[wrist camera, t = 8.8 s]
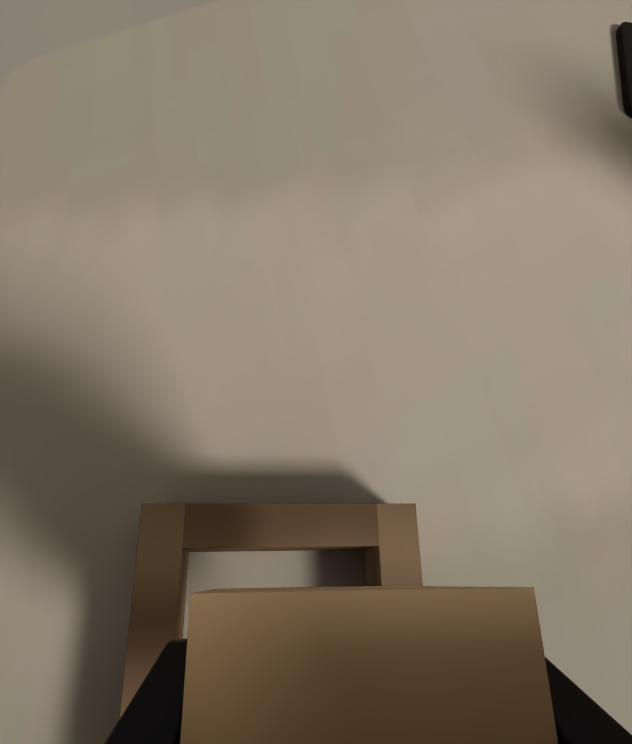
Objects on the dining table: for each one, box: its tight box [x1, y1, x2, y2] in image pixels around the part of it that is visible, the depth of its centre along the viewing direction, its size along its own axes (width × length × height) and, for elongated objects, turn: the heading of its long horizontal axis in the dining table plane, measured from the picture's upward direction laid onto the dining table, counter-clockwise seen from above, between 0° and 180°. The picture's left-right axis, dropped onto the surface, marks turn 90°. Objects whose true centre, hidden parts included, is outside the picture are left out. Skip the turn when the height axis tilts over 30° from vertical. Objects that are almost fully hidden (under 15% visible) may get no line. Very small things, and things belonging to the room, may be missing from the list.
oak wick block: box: [180, 586, 558, 744], centre depth 10 cm, size 4×4×8 cm
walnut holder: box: [120, 504, 423, 717], centre depth 18 cm, size 10×10×2 cm
